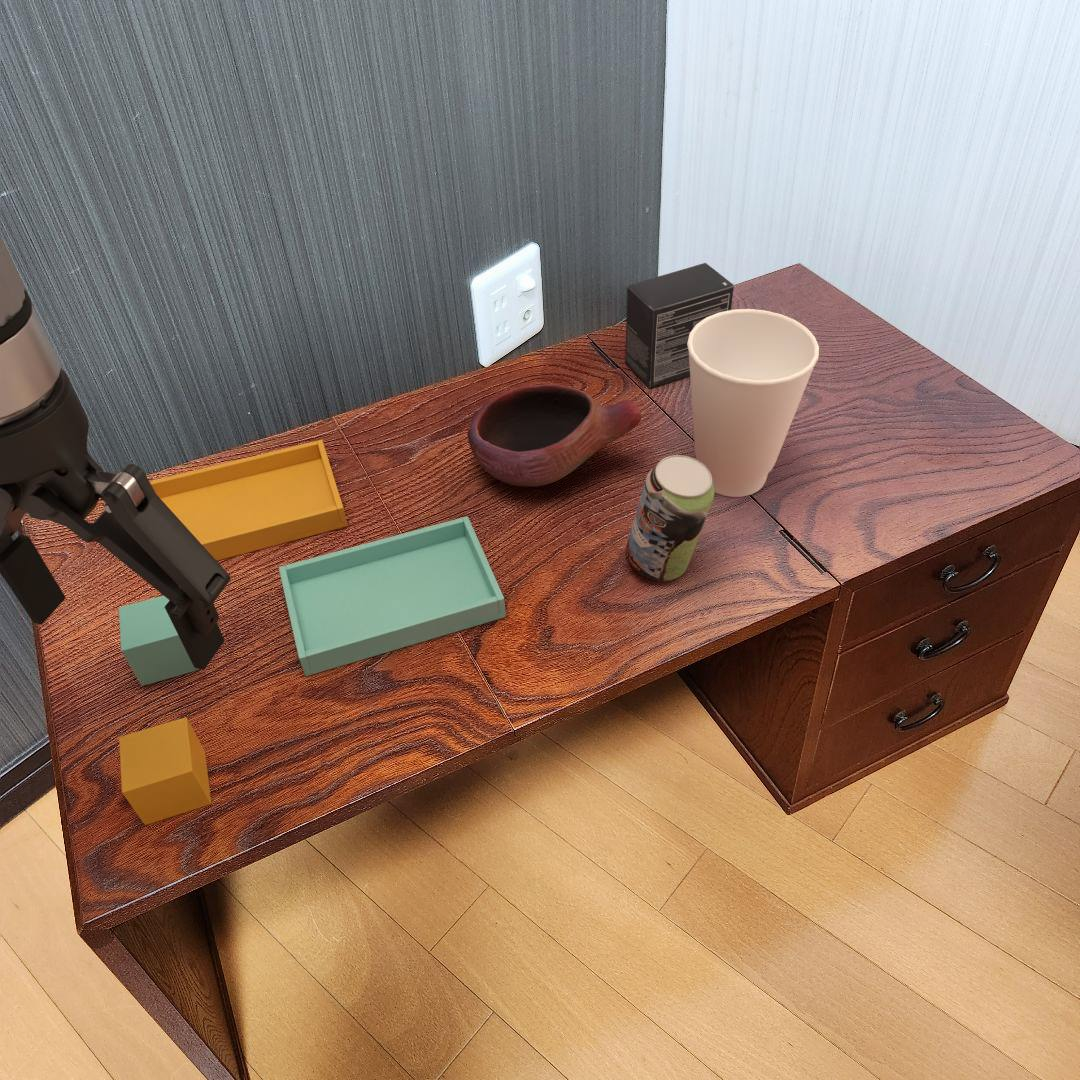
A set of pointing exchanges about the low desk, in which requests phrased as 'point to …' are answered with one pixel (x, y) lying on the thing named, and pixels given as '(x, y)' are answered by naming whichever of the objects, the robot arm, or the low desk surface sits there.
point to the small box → (670, 320)
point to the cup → (746, 392)
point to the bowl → (544, 432)
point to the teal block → (152, 642)
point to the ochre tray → (256, 500)
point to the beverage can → (669, 517)
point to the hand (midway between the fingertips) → (128, 631)
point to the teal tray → (389, 594)
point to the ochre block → (164, 771)
